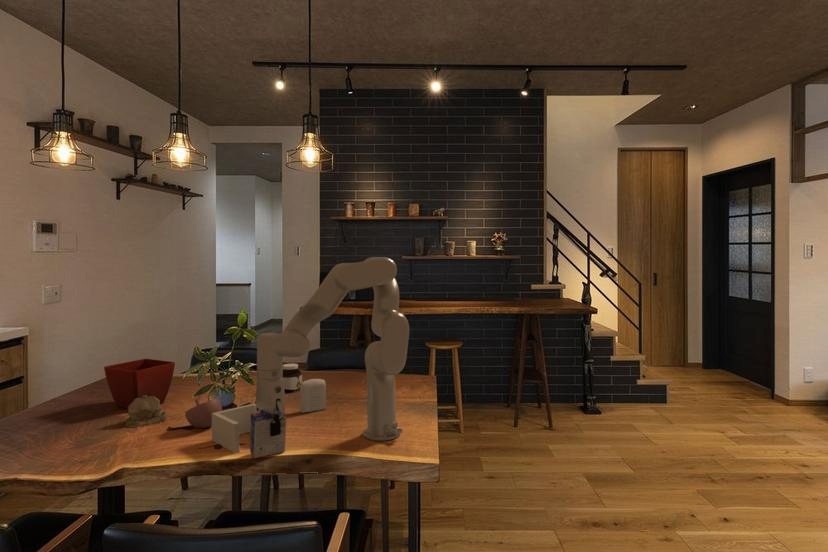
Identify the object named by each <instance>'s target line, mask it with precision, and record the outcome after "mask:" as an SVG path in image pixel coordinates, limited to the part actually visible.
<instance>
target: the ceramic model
mask: <svg viewBox="0 0 828 552" xmlns="http://www.w3.org/2000/svg"><path fill="white" fill-rule="evenodd" d="M162 406H163V405H161V403H160V401H159V399H157V398H156V397H155V396H149V397H147V395H143V397H142V398H136V399H134V401H133V402H132V403H131V404H130V405H129V406H128V408H127V414H128V416H129V417H127V418H126V420H124V422H125V425H126V427H127V426H141V427H145V426H144V425H147V426H151V425H150V424H153V425H156V424H155V423H158V424H161V423H160V422H162V423H164V421H165V422H166V421H167V420H168V415H167V414H168V413H167V412H166V411H163V412H162V410H163V407H162Z"/></svg>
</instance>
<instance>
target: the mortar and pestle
mask: <svg viewBox="0 0 828 552" xmlns="http://www.w3.org/2000/svg"><path fill="white" fill-rule="evenodd" d="M201 398H202V394H199V395H198V396H197V397H196V398H195V399H194V401H195V404H196V405H195V406H193V407H191V408H189V409H188V410H186V411H185V412H184V413H185V414H184V415H185V418H186V420H187V422H188V423H189V425H191V426H193V427H194V428H197V429H206V428H210V427H212V413H215V412H220V411H223V405H222V402H221V400H220V399H219V398H218V397H215V398H212V399H209V400H207V401H205V402H202V403H201V402H200V400H201Z"/></svg>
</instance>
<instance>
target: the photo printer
mask: <svg viewBox="0 0 828 552" xmlns="http://www.w3.org/2000/svg"><path fill="white" fill-rule="evenodd" d="M326 384H327V383H326V381H325V380H324V379H322V378H311V379H307V380H304V381H302V383H301V386H300V389H299V390H300V395H299V396H300V398H299V400H300V404H299V405H300V406H299V407H300V409H299V410H300V413H302V414H305V412H306V413H310V412H311V413H312V412H317V411H322V410H326V409H327V405H326V404H327V402H326V401H327V389H326V388H327V385H326Z"/></svg>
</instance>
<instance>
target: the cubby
mask: <svg viewBox="0 0 828 552" xmlns="http://www.w3.org/2000/svg"><path fill="white" fill-rule="evenodd" d="M256 413H258V412H257V407H256V404H255V403H251V404H247V405H242V406H238V407H233V408H228V409H225V410H222V411H220V412H215V413H212V426H211V441H212V440H213V441H212V442H214V441H215V443H216V444H218V445H219V444H220V445H219V446H221V445H222V446H221V447H223V448H225V449H226V448H227V450H228V451H230V452H232V453H233V454H237V453H240V436H241V435H243V434H246V433H251V414H256Z"/></svg>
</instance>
